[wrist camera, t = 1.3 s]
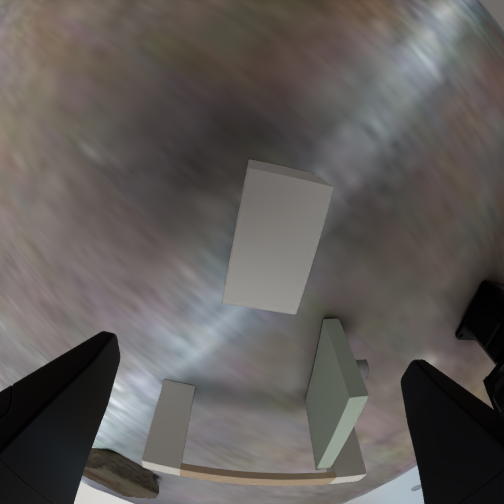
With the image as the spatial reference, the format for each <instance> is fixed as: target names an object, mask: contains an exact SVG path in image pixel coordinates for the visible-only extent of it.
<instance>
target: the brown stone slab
mask: <svg viewBox="0 0 504 504" xmlns="http://www.w3.org/2000/svg"><path fill="white" fill-rule="evenodd" d="M83 476H85V477H87V478H89V479H91V480H93V481H95V482H97V483H99V484H102V485H104V486H106V487H107V488H109V489H111V490H113V491H115V492H117V493H119V494H121V495H123V496H127V497H136V498H149V499H150V498H156V496H157V495H158V494H159V485H158V484H156V482H155V480H154V478H153V472H152V471H150V470H147V469H145V468H143V467H141V466H140V465H138V464H137V463H135V462H133V461H131V460H130V459H128V458H126V457H124V456H123V455H121V454H119V453H115V452H111V451H108V450H103V449H97V448H94V449H91V451H90V454H89V457H88V460H87V463H86V466H85V469H84V472H83Z"/></svg>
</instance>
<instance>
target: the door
mask: <svg viewBox="0 0 504 504" xmlns="http://www.w3.org/2000/svg"><path fill="white" fill-rule="evenodd" d="M368 373H369V366H368V362H367V360H355V358H354V355H353V353H352V350H351V348H350V345H349V343H348V340H347V338H346V336H345V333H344V331H343V328H342V326H341V323H340V321H339V319H323V324H322V329H321V334H320V339H319V344H318V349H317V354H316V358H315V363H314V367H313V371H312V376H311V380H310V384H309V388H308V392H307V396H306V400H305V404H306V410H307V416H308V422H309V429H310V435H311V441H312V448H313V454H314V461H315V467H316V470H319V469H327V468H330V467H331V466H332V464H333V463H334V461H335V459H336V458H337V456H338V454H339V452H340V451H341V449H342V447H343V445H344V444H345V442H346V440H347V438H348V436H349V434H350V433H351V431H352V429H353V427H354V425H355V423H356V421H357V419H358V417H359V415H360V413H361V411H362V409H363V407H364V405H365V403H366V401H367V398H368V396H369V395H368V392H367V389H366V386H365V384H364V381H363V379H366V378H367V377H368Z"/></svg>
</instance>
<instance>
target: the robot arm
mask: <svg viewBox="0 0 504 504" xmlns="http://www.w3.org/2000/svg"><path fill="white" fill-rule="evenodd" d="M456 337H457V339H459V340H476V341H477V342H478V344H479V345H480V346H481V347H482V349H483V350H484V351H485V352H486V354H487V355H488V356H489V357H490V359H491V360H492V361H493V363H494V364H495V365H496V366H495V368H494V369H493V370H492V371H491V373H490V374H489V375H488V376H486V378H485V379H484V380H483V382H484V385H485V388H486V391H487V393H488V396H489V398H490V400H491V403H492V406H493V408H494V409H492V408H491V407H490V406H488V405H487V404H485V403H484V402H483V401H481V400H480V399H478V398H477V397H476V396H474V395H473V394H471V393H470V392H469V391H467V390H466V389H464V388H463V387H462V386H460V385H459V384H457V383H456V382H455V381H453V380H452V379H450V378H449V377H448V376H446V375H445V374H443V373H442V372H441V371H439V370H438V369H436V368H435V367H434V366H432V365H431V364H429V363H428V362H426V361H425V360H422V359H421V360H413V361H412V362H411V363H410V364H409V366H408V368H407V370H406V371H405V373H404V375H403V376H402V378H401V388H402V394H403V399H404V405H405V411H406V417H407V423H408V427H409V431H410V435H411V439H412V443H413V448H414V452H415V456H416V461H417V466H418V470H419V475H420V480H421V486H422V491H423V497H424V503H425V504H504V285H503V284H499V283H495V282H491V281H487V280H485V281H484V282H483V283H482V284H481V286H480V289H479V291H478V293H477V295H476V297H475V299H474V301H473V303H472V305H471V307H470V309H469V311H468V313H467V315H466V317H465V318H464V320H463V322H462V324H461V326H460V328H459V329H458V331H457V333H456ZM119 362H120V351H119V345H118V339H117V336H116V334H114V333H110V332H106V331H102V332H100V333H98V334H97V335H95V336H93V337H91V338H90V339H88V340H86V341H85V342H83V343H81V344H80V345H78V346H76V347H75V348H73V349H71V350H69V351H68V352H66V353H64V354H63V355H61V356H59V357H58V358H56V359H54V360H53V361H51V362H49V363H48V364H46V365H44V366H43V367H41V368H39V369H38V370H36V371H34V372H33V373H31V374H29V375H28V376H26V377H24V378H23V379H21V380H19V381H18V382H16V383H14V384H13V386H12V385H11V386H9V387H7V388H6V389H4V390H2V391H1V392H0V504H74V501H75V497H76V494H77V490H78V487H79V484H80V481H81V478H82V475H83V472H84V469H85V466H86V463H87V460H88V457H89V454H90V451H91V448H92V446H93V443H94V440H95V437H96V435H97V432H98V429H99V426H100V424H101V421H102V419H103V416H104V413H105V411H106V408H107V405H108V402H109V399H110V395H111V391H112V387H113V384H114V380H115V376H116V373H117V369H118V366H119Z"/></svg>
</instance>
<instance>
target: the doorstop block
mask: <svg viewBox="0 0 504 504" xmlns="http://www.w3.org/2000/svg"><path fill="white" fill-rule="evenodd" d="M333 189H334V187H333V186H331V185H330V184H328V183H327V182H325V181H324V180H322V179H321V178H319V177H318V176H316V175H315V174H313V173H310V172H306V171H301V170H297V169H293V168H288V167H284V166H279V165H275V164H270V163H265V162H260V161H255V160H250V159H249V161H248V166H247V171H246V176H245V181H244V186H243V191H242V196H241V201H240V206H239V211H238V216H237V221H236V227H235V232H234V237H233V242H232V248H231V253H230V258H229V264H228V270H227V276H226V282H225V288H224V294H223V300H222V303H226V304H232V305H238V306H244V307H250V308H256V309H262V310H268V311H275V312H281V313H288V314H295V315H296V313H297V310H298V307H299V304H300V301H301V298H302V295H303V292H304V288H305V285H306V282H307V279H308V276H309V273H310V269H311V266H312V263H313V260H314V256H315V253H316V250H317V246H318V243H319V240H320V236H321V233H322V229H323V226H324V222H325V219H326V215H327V212H328V208H329V204H330V200H331V197H332V193H333Z"/></svg>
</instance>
